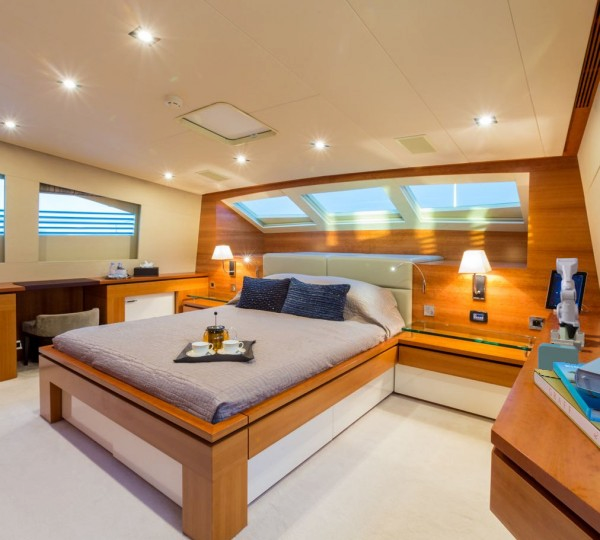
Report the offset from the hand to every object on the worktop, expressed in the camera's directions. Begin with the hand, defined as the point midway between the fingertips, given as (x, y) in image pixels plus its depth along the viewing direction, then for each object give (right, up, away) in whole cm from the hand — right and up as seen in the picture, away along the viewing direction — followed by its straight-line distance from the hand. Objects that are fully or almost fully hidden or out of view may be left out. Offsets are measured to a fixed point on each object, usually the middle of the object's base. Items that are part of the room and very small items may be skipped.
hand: (568, 337), depth 190 cm
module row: (-5, -2, -7) cm, 9 cm away
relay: (-11, -2, -20) cm, 23 cm away
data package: (-47, -4, -57) cm, 74 cm away
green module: (0, -1, 0) cm, 1 cm away
